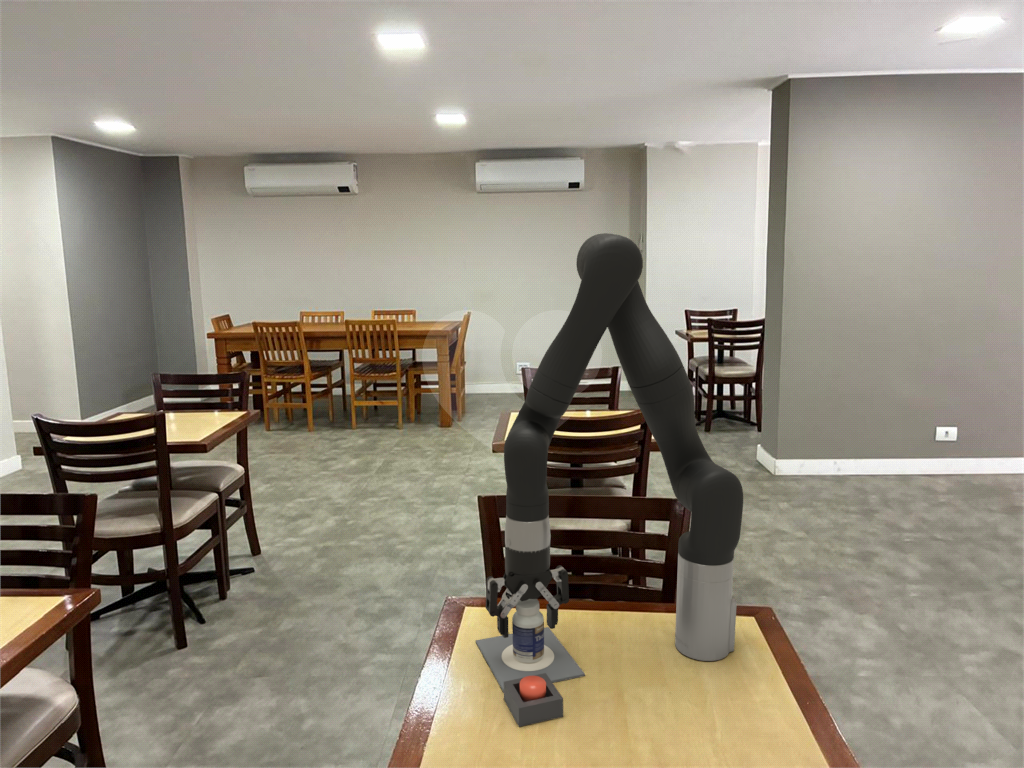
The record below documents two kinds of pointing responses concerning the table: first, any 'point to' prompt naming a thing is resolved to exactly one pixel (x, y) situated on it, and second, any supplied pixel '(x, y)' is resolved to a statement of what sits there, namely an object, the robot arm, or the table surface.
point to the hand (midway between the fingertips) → (527, 631)
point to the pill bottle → (528, 632)
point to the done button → (532, 688)
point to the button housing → (533, 703)
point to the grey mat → (508, 668)
